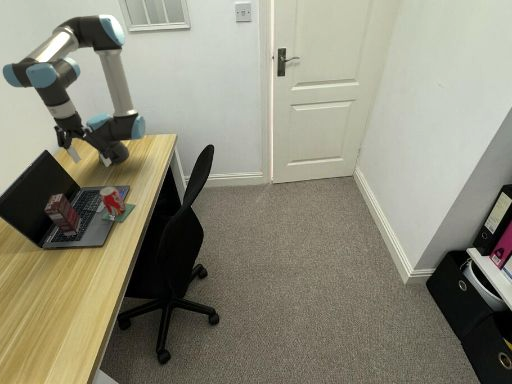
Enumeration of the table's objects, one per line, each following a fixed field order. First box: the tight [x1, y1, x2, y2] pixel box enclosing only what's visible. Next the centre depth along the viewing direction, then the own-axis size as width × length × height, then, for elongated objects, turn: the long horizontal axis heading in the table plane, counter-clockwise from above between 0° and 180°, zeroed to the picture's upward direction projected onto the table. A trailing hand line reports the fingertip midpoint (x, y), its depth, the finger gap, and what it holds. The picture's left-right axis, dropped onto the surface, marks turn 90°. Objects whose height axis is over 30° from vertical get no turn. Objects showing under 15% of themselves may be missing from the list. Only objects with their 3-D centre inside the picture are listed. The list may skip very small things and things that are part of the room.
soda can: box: [99, 185, 126, 216], centre depth 116 cm, size 7×7×12 cm
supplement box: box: [43, 193, 83, 237], centre depth 109 cm, size 9×5×16 cm, turn 13°
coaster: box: [101, 202, 136, 223], centre depth 120 cm, size 10×10×1 cm
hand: (93, 163), depth 109 cm, fingers open, 13 cm apart
